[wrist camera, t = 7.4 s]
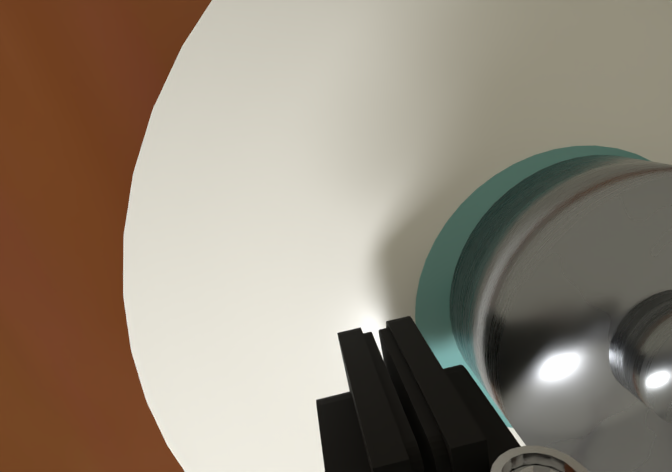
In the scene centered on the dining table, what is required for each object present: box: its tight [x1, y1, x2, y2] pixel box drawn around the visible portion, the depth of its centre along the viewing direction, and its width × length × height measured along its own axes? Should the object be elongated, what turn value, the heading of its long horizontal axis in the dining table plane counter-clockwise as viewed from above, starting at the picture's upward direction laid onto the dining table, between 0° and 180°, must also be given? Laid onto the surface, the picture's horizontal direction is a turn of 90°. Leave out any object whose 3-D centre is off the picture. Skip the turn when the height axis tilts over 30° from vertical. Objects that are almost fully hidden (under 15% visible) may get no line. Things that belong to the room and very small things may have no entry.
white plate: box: [123, 0, 672, 472], centre depth 14 cm, size 22×22×3 cm
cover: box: [450, 155, 672, 472], centre depth 10 cm, size 7×7×4 cm
